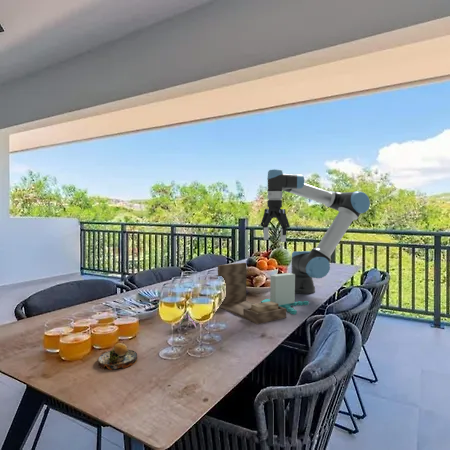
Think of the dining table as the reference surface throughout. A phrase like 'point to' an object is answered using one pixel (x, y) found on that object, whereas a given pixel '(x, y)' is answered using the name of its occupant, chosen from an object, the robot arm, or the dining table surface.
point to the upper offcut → (264, 307)
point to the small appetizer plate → (117, 357)
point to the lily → (189, 319)
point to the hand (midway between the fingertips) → (274, 240)
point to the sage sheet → (282, 288)
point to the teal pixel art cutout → (288, 306)
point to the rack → (243, 295)
